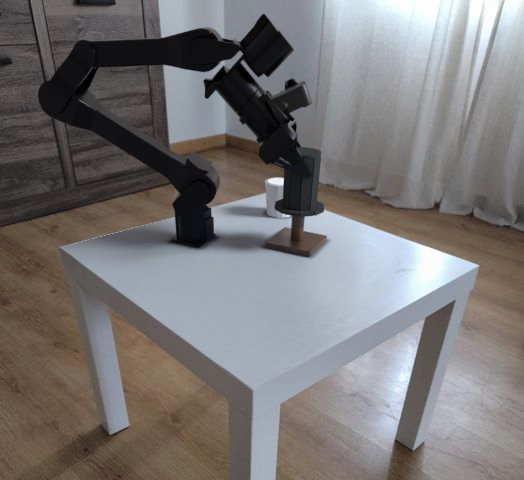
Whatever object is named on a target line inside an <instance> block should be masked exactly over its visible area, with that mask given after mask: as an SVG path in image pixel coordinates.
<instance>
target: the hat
mask: <svg viewBox="0 0 524 480" xmlns="http://www.w3.org/2000/svg"><path fill="white" fill-rule="evenodd" d="M297 149H298V150H299V152H300V154H301V155H302V157H303V159H304V161H305V162H306V164H307V166H308V167H309V169H310V171H311V173H312V176H311V177H310V178H309V179H306V178H304V177H302V176H300V175H297V174H295V173H293V172H291V171H288V170H286V169H284V168H283V171H284V172H283V177H284V185H283V199H281V200H278V201H276V202H275V210H277V211H278V212H280V213H282V214H284V213H285V215H291V216H290V217H292V216H297V217H298V216H300V217H305V218H306V217H314V216H318V215H321V214H324V212H325V204H324V203H323V202H321V201H319V200H318V196H319V195H318V194H319V185H320V184H319V183H320V173H321V161H322V150H320V149H317V148H313V147H306V146H301V147H297Z"/></svg>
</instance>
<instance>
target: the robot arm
mask: <svg viewBox="0 0 524 480" xmlns="http://www.w3.org/2000/svg"><path fill="white" fill-rule="evenodd" d="M239 52H241V54H242V55H241V56H240V57H239V58H238V59H237V60H236V62H234V64H233V65H232V66H231V68H228V67H227V66H226V65H222V66H221V67H220V68H219V69H218V71H217V72H216V73H215V74H214V75H213V77H211V78H208V77H205V78H204V79H203V85H204V95H203V97H204V98H205V100H208V99H209V98H210V97H211V96H212V95H213V94H214V93H215V92H217V94H218V95H219V96H220V97H221V98H222V100H224V102H225V103H226V104H227V105H228V106H229V107H230V108H231V110H232V111H233V112H234V114H236V116H237V117H238V121H239V122H240V123H241V125H242V126H244V125H245V126H246V127H247V128H248V129H249V131H251V133H253V135H254V136H255V137H256V139H255V140H256V141H257V143H258V144H259V146H258V157H259V159H261V161H262V162H263V163H264V164H265V165H266V166H267V165H269V164H270V165H275V166H277V167H279V168H281V169H283V170H284V169H286V170H288V171H291V172H293V173H295V174H297V175H300V176H302V177H304V178H306V179H309V178H310V177H311V176H312V173H311V171H310V169H309V167H308V166H307V164H306V162H305V161H304V159H303V157H302V155H301V154H300V152H299V150H298V149H297V147H302V144H301V142H300V141H299V139H298V132H297V129H298V128H297V127H298V126H297V125H298V124H297V121H295V120H296V117H295V115H294V114H293V113H292V112H295V111H297V110H299V109H301V108H307V107H309V106H311V105H312V104H313V101H312V98H311V95H310V91H309V89H308V86H307V83H306V80H302V81H300V82H298V81H297V80H296V79H295V78H294V77H291V78H289V79H287V80H285V81H284V89H283V90H280V91H279V92H278V93H276V94H274V95H273V94H272V92H271V91H270V90H268V89H267V90H266V89H264V88H263V87H262V86H261V84H259V83H258V81H257V80H256V79H255V78H254V76H253V75H252V74H251V73H250V72H249V70H250V71H252V73H253V74H254V75H255V76H256V77H257V78H261V77H262V76H263V75H264V76H265V77H266V78H268V79H269V78H270V77H271V76H272V75H273V74H274V73H275V71H277V70H278V68H279V67H280V66H281V65H282V64H283V63H284V62H285V61H286V60H288V58H289V56H290V55H291V54H292V53H293V52H295V48H294V47H293V45H292V44H291V43H290V41H289V39H287V38H286V36H285V35H284V34H283V32H282V30H280V29H278V28H277V27H276V26H275V24H274V23H273V22H272V21H271V20H270V18H269V16H267V14H266V13H262V14H261V15H260V16H259V18H258V19H257V20H256V22H255V23H254V26H253V27H252V28H251V29H250V30H249V31H248V32H247V33H246V34H245V35H244V37H243V38H242V39H241V40H240V41H238V40H237V39H236V38H234V39H228V38H224V37H222V36H221V33H219V32H218V31H217V30H216V29H214V28H212V27H209V26H205V27H204V26H203V27H199V28H195V29H194V28H193V29H190V30H186V31H182V32H178V33H176V34H171V35H167V36H165V37H145V38H141V37H140V38H120V39H119V38H118V39H94V38H85V39H80V40H77V41H76V42H75V43H74V45H73V47H72V49H71V50H70V53H69V54H68V56H67V57H66V58H65V60H64V61H63V62H62V63H61V64H60V66H59V67H58V68H57V69H56V71H55V72H54V73H53V75H52V77H51V79H49V80H46V81H44V82H43V83H41V85H40V86H39V88H38V90H37V100H38V103H39V106H40V109H41V111H42V112H43V113H44V114H45V115H46V116H47V117H48V118H51V119H53V120H55V121H58V122H60V123H62V124H65V125H68V126H70V127H73V128H78V129H83V130H87V131H89V132H92V133H94V135H96V136H98V137H99V138H101V139H103V140H105V141H106V142H107V143H110V144H112V145H113V146H115V147H117V148H118V149H120V150H121V151H123V152H124V153H126V154H127V155H129V156H131V157H132V158H134V159H136V160H137V161H139V162H140V163H142V164H144V165H146V166H147V167H149V168H151V170H154V171H155V172H157V173H159V174H161V176H164V177H165V178H166V180H167V181H168V182H169V183H170V184H171V185H172V187H173V188H174V189H175V190H176V192H178V193H177V195H176V197H175V198H174V200H173V202H172V203H171V205H172V208H173V210H174V222H175V236H173V237H171V242H173V243H179V244H181V245H187V246H189V247H191V246H192V247H196V248H201V247H203V246H205V245H207V244H208V243H209V242H211V241H213V240H215V238H217V237H218V235H217V233H215V219H214V217H213V215H212V213H213V212H212V207H209V206H208V205H209V204H210V203H212V201H213V200H214V199H215V197H216V195H217V193H218V189H219V187H220V184H221V177H220V174H219V172H218V170H217V169H216V167H214V166H213V160H212V161H211V160H207V159H205V158H203V157H202V156H201V155H200V154H199V153H198V152H196V151H195V150H191V152H190V153H189V154H188V155H187V156H186V155H182V154H179V153H177V152H175V151H173V150H171V149H170V148H168V147H167V146H165V145H164V144H163V143H161V142H159V141H157V140H156V139H155V138H153V137H152V136H150V135H148V134H146V133H145V132H143V131H141V130H140V129H138V128H136V126H134V125H132V124H130V123H129V122H128V121H126V120H124V119H123V118H121V117H120V116H118V115H117V114H115V113H113V112H111V111H110V110H108V109H107V108H106V107H104V105H103V104H102V103H101V102H100V101H99V99H98V98H97V97H96V95H94V93H93V92H92V91H90V90H89V89H90V88H91V87H92V84H93V83H94V81H95V79H96V76H97V74H98V71H99V69H100V68H115V67H116V68H119V67H120V68H123V67H143V66H145V67H147V66H168V67H173V68H176V69H177V68H178V69H181V70H187V71H193V72H200V73H207V72H211V71H212V70H214V69H215V68H217V67H218V66H219V65H220V64H221V62H223V61H228V60H229V61H230V60H232V59H233V58H234V57H236V56H237V55H238V54H239ZM243 61H244V63H245V64H246V66H247V67H248V68H249V70H248V69H247V68H246V67H245V66H244V65H243V63H242V62H243ZM290 122H293V123H292V124H291V125H290V124H289V123H290Z"/></svg>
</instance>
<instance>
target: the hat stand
mask: <svg viewBox="0 0 524 480" xmlns="http://www.w3.org/2000/svg"><path fill="white" fill-rule="evenodd" d="M305 218H306V216H305V217H300V216H298V217H297V216H291V224H290V227H286V226H285V227H284V228H282V229H280V230H279V231H278V232H276V234H274V235H272V236H271V237H269V239H268V240H266V241H265V242H264V243H265V245H264V247H265V248H268V249H272V250H278V251H280V252H281V251H282V252H286V253H291V254H295V255H299V256H305V257H309V258H310V257H311V256H312V255H313V254H314V253H315V252H317V251H318V249H319V248H320V247H322V245H324V244H325V242H326V241H327V240H328V239H327V238H328V235H325V234H321V233H316V232H309V231H305V230H304V229H305V221H306V219H305Z"/></svg>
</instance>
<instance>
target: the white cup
mask: <svg viewBox="0 0 524 480" xmlns="http://www.w3.org/2000/svg"><path fill="white" fill-rule="evenodd" d="M264 183H265V184H264V186H265V205H266V215H268V216H269V217H271V218H277V219H284V218H290V217H292V216H291V215H285V213H284V214H282V213H280V212H278V211H277V210H275V202H276V201H278V200H281V199H283V185H284V176H283V177H282V176H281V177H279V176H277V177H269V178H266V179H265V180H264Z"/></svg>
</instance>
